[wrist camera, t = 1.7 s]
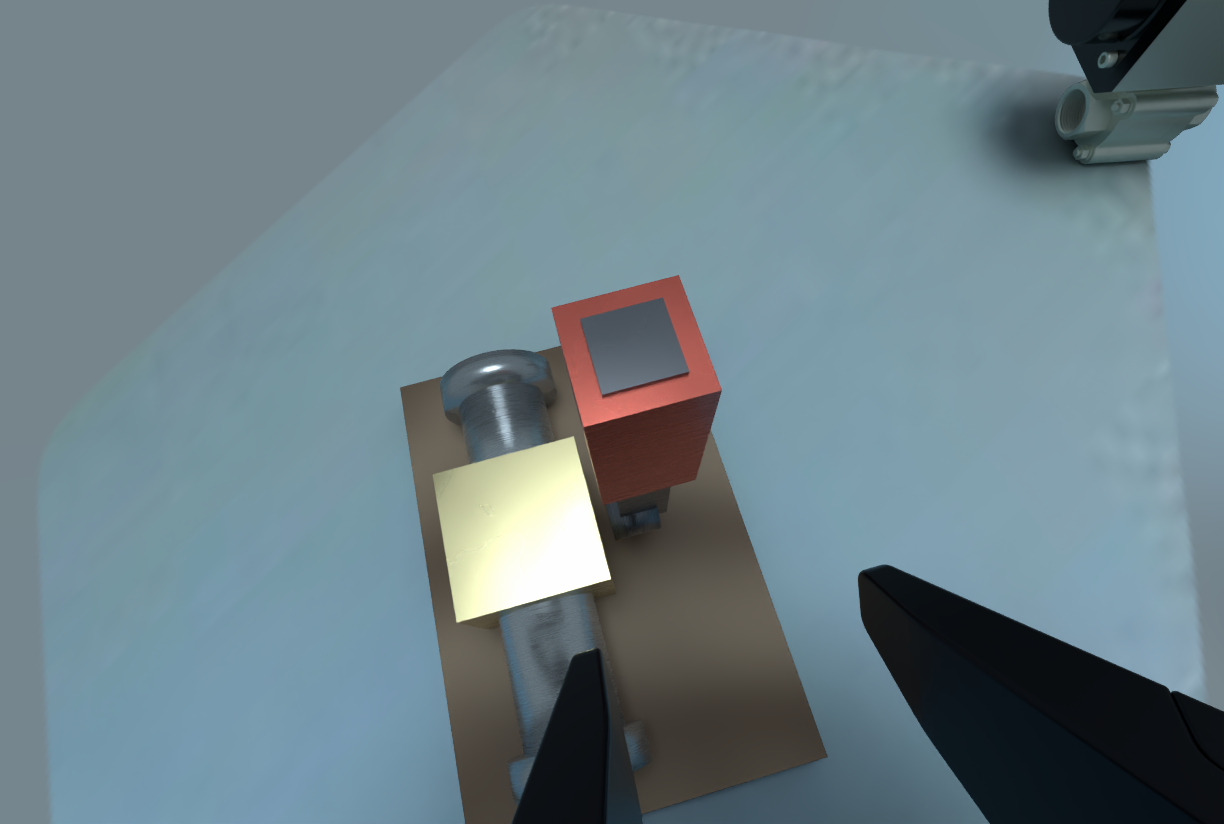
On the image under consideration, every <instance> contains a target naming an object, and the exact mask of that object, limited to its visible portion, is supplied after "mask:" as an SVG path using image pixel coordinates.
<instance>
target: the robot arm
mask: <svg viewBox="0 0 1224 824" xmlns="http://www.w3.org/2000/svg"><path fill="white" fill-rule="evenodd" d="M858 587H859V598H860V610H861V617H862V621H863V624H864V626H865V629H866V631H867V633H868V634H869V636H870V638H871V640H872V641H873V643H874V645H875V647H876V648H877V650H878V652H879V654H880V656H881V657H882V659H883V661H884V663H885V664H886V666H887V668H888V670H889V671H890V673H891V675H892V677H893V678H894V680H895V682H896V684H897V685H898V687H899V689H900V691H901V692H902V694H903V696H904V698H905V699H906V701H907V703H908V705H909V706H910V708H911V710H912V712H913V713H914V715H915V717H916V718H917V720H918V722H919V723H920V725H921V727H922V728H923V730H924V731H925V733H926V734H927V736H928V737H929V739H930V740H931V742H932V743H933V745H934V746H935V747H936V749H937V750H938V752H939V753H940V754H941V756H942V757H943V759H944V760H945V761H946V763H947V764H948V766H949V767H950V768H951V770H952V771H953V773H954V774H955V776H956V777H957V778H958V780H959V781H960V783H961V784H962V785H963V787H964V788H965V790H966V791H967V792H968V794H969V795H970V797H971V798H972V799H973V801H974V802H975V804H976V805H977V806H978V808H979V809H980V811H981V812H982V813H983V815H984V816H985V818H986V819H987V820H988V822H989V823H990V824H1224V711H1221V710H1219V709H1216V708H1214V707H1212V706H1210V705H1207V704H1205V703H1203V702H1201V701H1198V700H1196V699H1194V698H1191V697H1189V696H1187V695H1185V694H1182V693H1180V692H1178V691H1172V692H1171V693H1170V691H1169V689H1168V688H1167V687H1166V686H1164V685H1161V684H1159V683H1157V682H1154V681H1152V680H1150V679H1148V678H1145V677H1143V676H1141V675H1139V674H1136V673H1134V672H1132V671H1129V670H1127V669H1125V668H1123V667H1120V666H1118V665H1116V664H1113V663H1111V662H1109V661H1107V660H1104V659H1102V658H1100V657H1098V656H1095V655H1093V654H1091V653H1088V652H1086V651H1084V650H1082V649H1079V648H1077V647H1075V646H1072V645H1070V644H1068V643H1066V642H1063V641H1061V640H1059V639H1057V638H1054V637H1052V636H1050V635H1047V634H1045V633H1043V632H1041V631H1038V630H1036V629H1034V628H1031V627H1029V626H1027V625H1025V624H1022V623H1020V622H1018V621H1016V620H1013V619H1011V618H1009V617H1006V616H1004V615H1002V614H1000V613H997V612H995V611H993V610H990V609H988V608H986V607H984V606H981V605H979V604H977V603H975V602H972V601H970V600H968V599H965V598H963V597H961V596H959V595H956V594H954V593H952V592H949V591H947V590H945V589H943V588H940V587H938V586H936V585H934V584H931V583H929V582H927V581H924V580H922V579H920V578H918V577H915V576H913V575H911V574H908V573H906V572H904V571H902V570H899V569H897V568H895V567H893V566H890V565H879V566H876V567H872V568H869V569H866V570H863V571H861V572H860V573H859V576H858ZM511 824H643V821H642V813H641V808H640V803H639V798H638V793H637V788H636V784H635V779H634V774H633V770H632V765H631V761H630V756H629V752H628V747H627V743H626V738H625V734H624V729H623V725H622V720H621V716H620V711H619V707H618V702H617V698H616V694H615V691H614V687H613V684H612V681H611V678H610V674H609V671H608V668H607V665H606V661H605V658H604V655H603V653H602V651H601V650H600V649H599V648H594V649H591V650H587V651H584V652H581V653H577V654H575V655H574V656H573V657H572V659H571V661H570V664H569V667H568V669H567V672H566V675H565V678H564V680H563V683H562V686H561V689H560V691H559V694H558V697H557V699H556V702H555V705H554V708H553V710H552V713H551V716H550V719H549V721H548V724H547V727H546V730H545V732H544V735H543V738H542V741H541V743H540V746H539V749H538V751H537V754H536V757H535V760H534V762H533V765H532V768H531V771H530V773H529V776H528V779H527V782H526V784H525V787H524V790H523V793H522V795H521V798H520V801H519V803H518V806H517V809H516V812H515V814H514V817H513V820H512V823H511Z"/></svg>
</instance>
